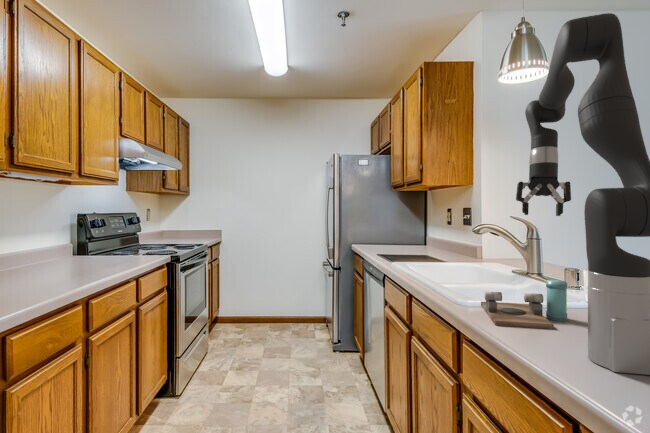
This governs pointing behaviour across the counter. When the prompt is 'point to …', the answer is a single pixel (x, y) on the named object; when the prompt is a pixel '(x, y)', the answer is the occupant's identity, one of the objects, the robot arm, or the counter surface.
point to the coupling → (556, 300)
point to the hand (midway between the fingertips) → (542, 215)
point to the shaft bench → (516, 311)
